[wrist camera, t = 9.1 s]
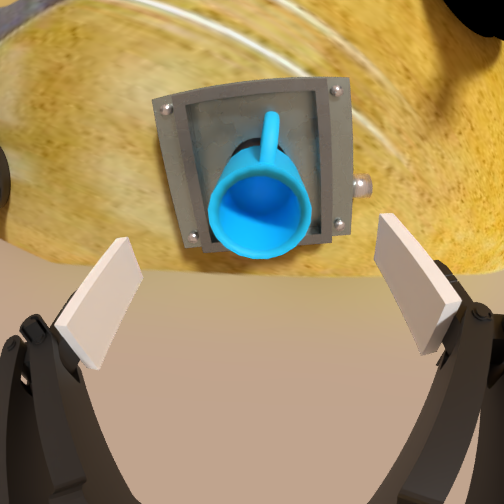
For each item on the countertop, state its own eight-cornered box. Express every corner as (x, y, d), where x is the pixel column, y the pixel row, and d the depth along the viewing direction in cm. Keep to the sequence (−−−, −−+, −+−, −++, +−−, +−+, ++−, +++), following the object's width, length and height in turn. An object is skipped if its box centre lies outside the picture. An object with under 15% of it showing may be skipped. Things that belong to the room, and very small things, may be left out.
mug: (291, 222, 30) (299, 264, 24) (219, 213, 30) (205, 253, 23) (312, 116, 24) (331, 124, 17) (229, 104, 24) (216, 107, 17)
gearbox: (195, 225, 38) (181, 257, 31) (169, 98, 28) (144, 100, 22) (359, 212, 36) (378, 241, 29) (357, 81, 26) (383, 79, 20)
